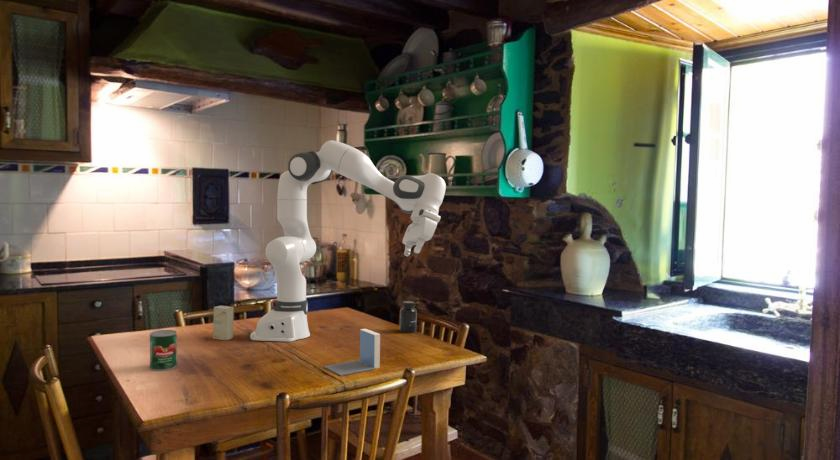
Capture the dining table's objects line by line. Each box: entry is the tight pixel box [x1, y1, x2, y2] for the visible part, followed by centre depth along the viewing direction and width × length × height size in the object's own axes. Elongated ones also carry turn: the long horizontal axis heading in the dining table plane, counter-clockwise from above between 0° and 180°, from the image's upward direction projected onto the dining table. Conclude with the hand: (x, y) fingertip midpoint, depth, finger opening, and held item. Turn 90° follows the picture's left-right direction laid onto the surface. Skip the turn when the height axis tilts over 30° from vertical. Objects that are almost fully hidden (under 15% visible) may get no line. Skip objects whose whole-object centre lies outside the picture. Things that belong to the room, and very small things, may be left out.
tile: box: [359, 328, 381, 370], centre depth 196 cm, size 2×9×11 cm, turn 37°
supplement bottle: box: [399, 300, 418, 334], centre depth 243 cm, size 7×7×12 cm
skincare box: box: [212, 305, 234, 341], centre depth 226 cm, size 6×4×12 cm
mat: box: [323, 359, 375, 377], centre depth 191 cm, size 12×11×1 cm
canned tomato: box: [149, 329, 178, 372], centre depth 189 cm, size 8×8×11 cm
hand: (411, 254), depth 206 cm, fingers open, 8 cm apart
